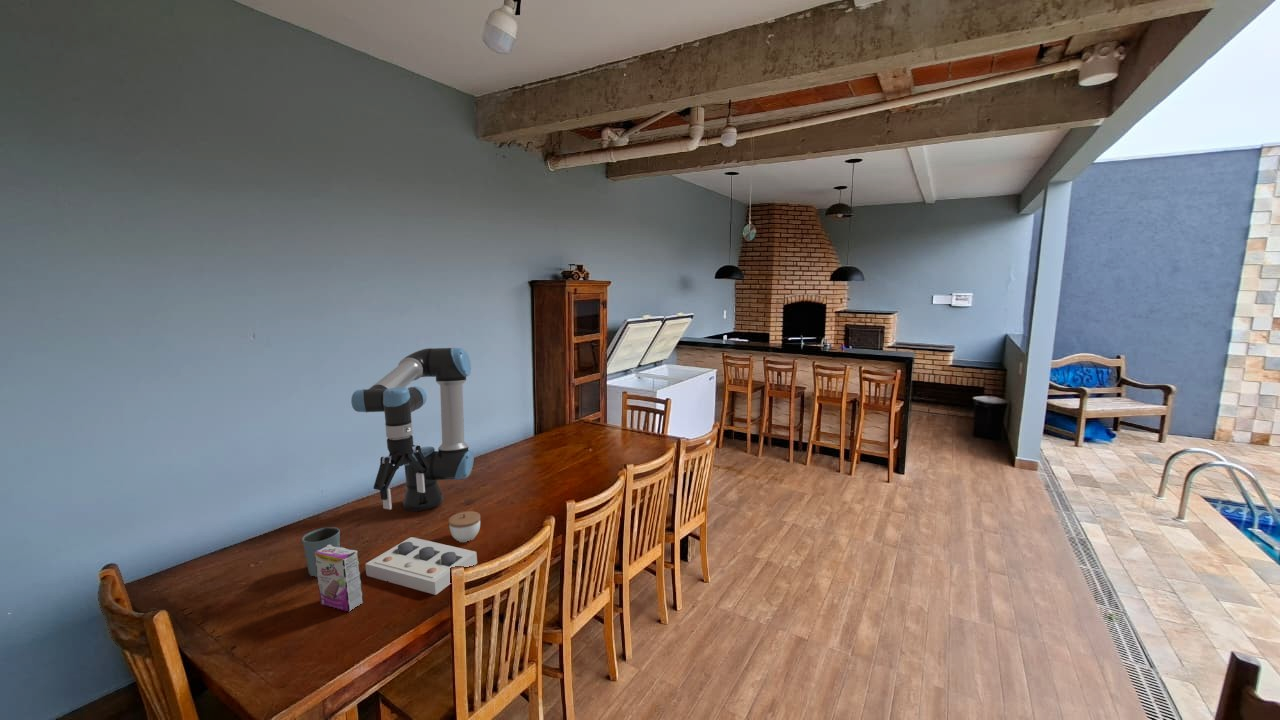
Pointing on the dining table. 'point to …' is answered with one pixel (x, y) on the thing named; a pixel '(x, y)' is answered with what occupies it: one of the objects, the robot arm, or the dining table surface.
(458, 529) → the lidded jar
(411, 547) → the button
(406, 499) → the robot arm
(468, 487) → the dining table surface
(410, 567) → the button board
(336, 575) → the candy bar box
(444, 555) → the button
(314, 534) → the grey plant pot
